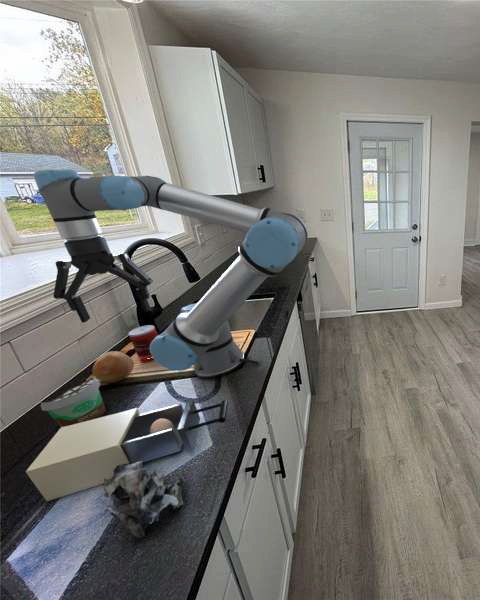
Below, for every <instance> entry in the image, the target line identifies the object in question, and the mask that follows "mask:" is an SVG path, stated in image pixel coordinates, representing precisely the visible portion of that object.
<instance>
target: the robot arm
mask: <svg viewBox="0 0 480 600" xmlns="http://www.w3.org/2000/svg"><path fill="white" fill-rule="evenodd" d="M33 178H34V181H35V185H36V187H37V191H38V193H39V195H40V196H41V198H42V200H43V202H44V203H45V206H46V208H47V210H48V211H49V214H50V217H51V219H52V221H53V222H54V225H55V227H56V229H57V232H58V234H59V236H60V238H61V239H63V240H64V242H63V244H64V247H65V249H66V252H67V253H68V255H69V256H70V259H65V258H62V259H60V260H56V261H55V267H56V270H57V272H56V277H55V283H54V284H55V285H54V290H53V298H54V299H56V300H59V299H62V300H65V301H66V302H67V304H68V306H69V308H70V310H71V311H72V312H75V311H76V314H77V316H78V317H79V319H80V322H81V323H82V324H83V323H86V322H88V321H89V320H90V319H91V317H90V314H89V312H88V309H87V307H86V306H85V304H84V301H83V300H82V297H81V296H80V295H77V293H78V291H79V289H80V288H81V286H82V284H83V283H84V281H85V280H86V277H87V276H88V275H89V276H95V275H97V274H99V275H102V274H103V275H105V274H107V273H109V274H112V275H115V276H116V277H118V278H120V279H121V280H123V281H125V282H127V283H129V284H131V285H133V286H134V287H136V289H135V292H136V295H137V298H138V300H139V302H140V304H141V307H142V310H143V312H144V313H147V312H149V310H150V309H151V306H150V303H149V298H151V297H150V296H151V295H150V292H149V290H148V287H147V286H150V285H151V284H152V283H153V282H154V279H153V278H152V277H150V276H149V275H148V274H147V272H145V271H143V269H141V268H140V267H139V266H138V265H137V264H136V263H135V262H134V261H133V260H132V259H131V258H130V256H129V254H128V253H127V252H126V251H123V252H121V253H118V254H113V253H112V252H111V250H110V247H109V245H108V242H107V240H106V238H105V236H103V235H102V234H103V230H102V227H101V225H100V223H99V220H98V218H97V216H96V213H95V212H103V211H105V212H106V211H127V210H128V211H129V210H134V209H139V208H141V207H150V208H154V209H158V210H162V211H167V212H171V213H174V214H177V215H181V216H185V217H188V218H191V219H195V220H199V221H203V222H207V223H209V224H210V223H211V224H213V225H218V226H221V227H225V228H229V229H231V230H236V231H240V232H243V233H246V235H245V239H243V241H242V242H241V243H240V245H239V246H238V254H239V256H238V257H237V258H235V260H234V261H233V262H232V263H231V264H230V266H229V267H228V268H227V269H226V270H225V271H224V272H223V273H222V274H221V276H220V277H219V278H218V279H217V280H216V282H215V283H213V284H212V286H211V287H210V288H209V290H207V291H206V293H205V294H204V295H203V296H202V297H201V299H199V301H198V302H196V303H191V304H188V305H185V306H183V307H182V308H180V313H179V314H178V315H177V317H176V318H175V319H174V320H173V321H172V322H171V323H170V324H169V325H168V327H167V328H166V329H164V331H162V333H160V334H158V336H156V337H155V339H154V340H153V341H152V342H151V344H150V353H151V354H152V357H153V360H154V361H155V363H157V364H158V365H159V366H161V367H162V368H164V369H167V370H169V371H175V372H176V371H178V372H182V371H186V370H188V369H191V367H192V366H193V371H194V374H195V375H196V376H197V377H198V378H202V379H213V378H218V377H221V376H225V375H227V374H229V373H233V372H234V371H236V370H237V369H238V368H239V367H240V366H242V365H243V364H244V363H248V364H254V365H258V364H259V361H258V360H252V359H248V358H247V359H246V358H245V354H244V352H243V350H242V349H241V348H240V347H239V345H238V344H237V343H236V341H235V340H234V338H233V334H232V330H231V327H230V324H229V319H230V318H231V317H232V316H233V315H234V314H235V313H236V312H237V310H239V308H240V307H241V306H242V305H243V304H244V303H246V301H247V299H248V298H250V296H251V295H252V294H253V293H254V292H255V291H256V290H257V289H258V288H259V287H260V286H261V285H262V284H263V283H264V281H265V280H267V279H268V278H274V277H277V276H278V275H279V274H280V273H281V272H282V271H283V270H284V269H285V267H287V265H289V264H290V263H291V262H292V261H293V260H294V259H296V257H297V255H298V254H299V253H300V252H301V251H302V250H303V249H304V248H305V246H306V245H307V242H308V238H309V233H308V228H307V226H306V223H304V220H302V219H301V218H300V217H299V216H298V215H296V214H293V213H291V212H286V211H282V210H277V209H273V208H270V207H267V206H266V207H263V208H261V209H260V208H257V207H253V206H250V205H246V204H243V203H239V202H236V201H232V200H229V199H226V198H222V197H218V196H215V195H212V194H209V193H205V192H202V191H198V190H193V189H190V188H187V187H182V186H179V185H177V184H173V183H169V182H166V181H165V180H164V179H162V178H160V177H157V176H151V175H141V176H140V175H139V176H137V175H136V176H127V175H107V176H97V177H81V176H80V175H79V173H78V172H77V171H76V170H74V169H44V170H43V169H42V170H37V171H35V172H34V173H33ZM115 261H117V262H119V263H121V264H122V265H123V266H124V267H125V268H127V269H128V270H129V272H131V273H132V274H131V273H129V272H128V271H126V270H124V269H122V268H121V267H120V266H119V265H117V264H115ZM72 266H73V267H75V268H76V269H78V270H77V272H76V273H75V276H74V278H73V280H72V281H71V283H70V285H69V286H68V288H67V285H68V280H69V274H70V269H71V268H72Z"/></svg>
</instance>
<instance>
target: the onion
mask: <svg viewBox="0 0 480 600" xmlns="http://www.w3.org/2000/svg"><path fill="white" fill-rule="evenodd" d="M134 366H135V362H134V360H133V359H132V358H131V357H130V356H129V355H127V354H126V353H124V352H121V351H117V350H115V351H113V350H110V351H107V352H105V353H103V354H102V355H101V356H99V357H98V358H97V359H96V360H95V362H94V364H93V366H92V370H91V371H92V374H93V376H94V377H95V378H96V379H97V380H98V381H101V382H104V383H107V384H108V383H111V384H112V383H118V382H119V383H120V382H121V381H123V380H125V379H126V378H127V377H128V376H129V375H130V374H131V373H132V371H133V369H134Z"/></svg>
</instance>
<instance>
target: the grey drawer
mask: <svg viewBox="0 0 480 600" xmlns="http://www.w3.org/2000/svg"><path fill="white" fill-rule="evenodd" d="M228 406H229V401H228V400H226V399H223V400H222V401H221V402H220V403H217V404H213V405H209V406H205V407H202V408H199V409H198V408H197V406H196V404H195V401H194V398H193V397H191V398H187V399H186V402H185V405H184V408H183V405H182V402H181V403H177V404H173V405H170V406H165V407H162V408H158V409H155V410H150V411H146V412H144V413H140V414H139V415H136V416H135V418H134V420H133V422H132V424H131V426H130V427H129V429H128V431H127V433H126V435H125V437H124V439H123V441H122V443H121V445H120V446H121V448H122V450H123V452H124V454H125V456H126V458H127V459H128V461H129V463H131V462H134V463H136V462H135V461H137V462H139V461H141V460H142V464H143V463H146V462H149V461H153V460H156V459H159V458H162V457H165V456H168V455H171V454H174V453H179V452H181V450H182V446H183V447H184V450H185V452H186V453H187V452H191V451H193V449H194V445H195V441H196V437H197V434H198V429H199V428H201V427H205V426H209V425H212V424H215V423H219V424H224V423H225V422H226V420H227V413H228ZM217 408H219V413H218V418H215V419H211V420H208V421H204V422H201V423H200V421H201V416H200V413H202V412H206V411H209V410H213V409H217ZM158 419H167V420H169V421H171V422H172V424H173V426H174V431H173V429H172V428H171V429H167V430H164V431H160V432H157V433H153V434H150V429H151V426H152V424H153V423H154V422H155V421H156V420H158ZM134 463H131V464H134Z"/></svg>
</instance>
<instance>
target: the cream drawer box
mask: <svg viewBox="0 0 480 600" xmlns="http://www.w3.org/2000/svg"><path fill="white" fill-rule="evenodd" d="M139 414H141V413H140V410H139V409H138V407H136V408H132V409H128V410H124V411H119V412H117V413H116V412H115V413H113V414H108V415H103V416H101V417H100V418H97V419H93V420H89V421H85V422H81V423H77V424H74V425H70V426H66V427H62V428H61V427H60V428H59V429H58V431H57V432H56V433H55V434H54V436H52V438H51V439H50V440H49V442H48V443H47V445H46V446H45V447H44V448H43V449H42V450H41V452H40V453H39V454H38V455H37V457H36V458H35V459H34V461H33V462H32V463H31V464H30V465H29V466H28V468H27V469H26V470H25V473H26V474H27V476H28V478H29V479H30V480H31V481H32V483H33V484H34V486H35V487H36V489H37V490H38V491H39V493H40V494H41V496H42V497H43V498H44V500H45V501H46V502H49V501H52V500H56V499H59V498H62V497H65V496H69V495H72V494H75V493H78V492H81V491H84V490H87V489H90V488H93V487H96V486H100V485H104V478H105V479H111V478H112V477H113V475H114V472H113V471H114V470H115V468H116V467H117V466H118V465H123V464H127V463H129V461H128V459H127V458H126V456H125V454H124V452H123V450H122V448H121V446H120V445H121V443H122V441H123V439H124V437H125V435H126V433H127V431H128V429H129V427H130V426H131V424H132V422H133V420H134V418H135V416H136V415H139ZM128 465H130V464H128Z"/></svg>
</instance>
